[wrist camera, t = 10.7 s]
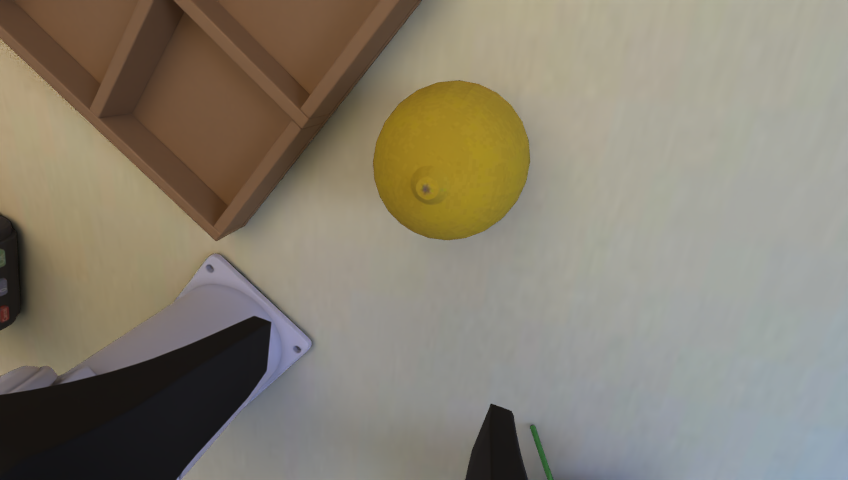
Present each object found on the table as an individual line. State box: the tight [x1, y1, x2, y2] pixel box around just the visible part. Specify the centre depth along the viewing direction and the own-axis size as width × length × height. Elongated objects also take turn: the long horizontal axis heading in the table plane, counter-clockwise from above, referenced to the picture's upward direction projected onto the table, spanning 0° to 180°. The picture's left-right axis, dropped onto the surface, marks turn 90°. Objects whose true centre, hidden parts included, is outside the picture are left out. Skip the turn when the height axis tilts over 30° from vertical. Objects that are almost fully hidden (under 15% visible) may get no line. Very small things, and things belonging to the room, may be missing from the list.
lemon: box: [373, 81, 530, 240], centre depth 16 cm, size 6×6×8 cm
